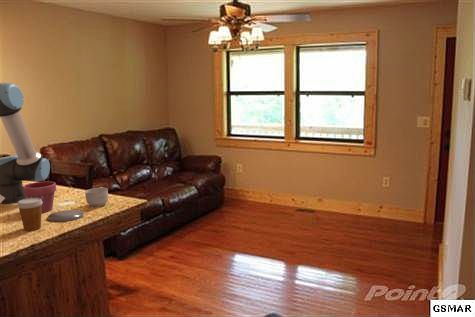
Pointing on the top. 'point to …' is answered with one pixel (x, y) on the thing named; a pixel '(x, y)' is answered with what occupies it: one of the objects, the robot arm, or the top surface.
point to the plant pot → (41, 193)
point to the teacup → (97, 196)
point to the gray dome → (65, 215)
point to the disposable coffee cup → (30, 213)
